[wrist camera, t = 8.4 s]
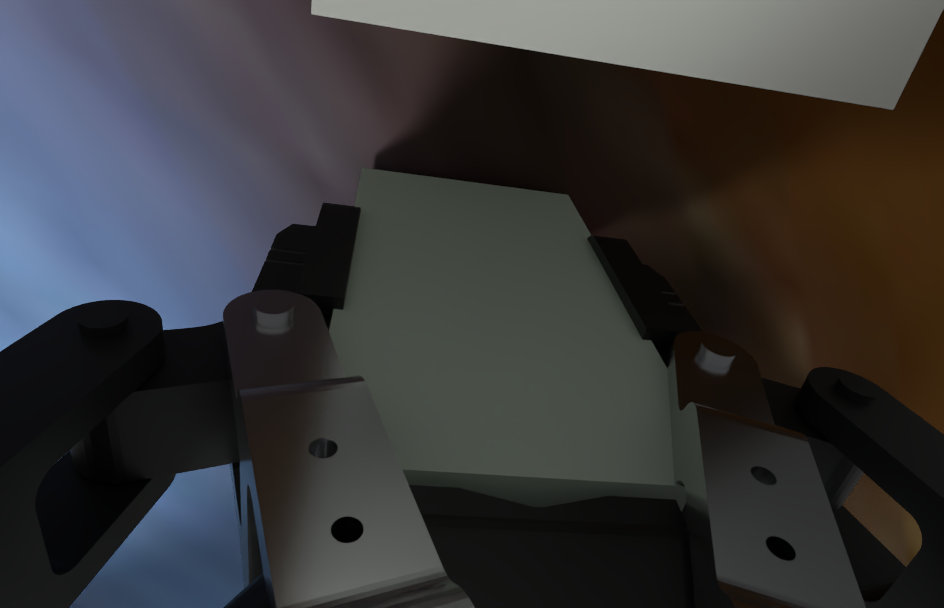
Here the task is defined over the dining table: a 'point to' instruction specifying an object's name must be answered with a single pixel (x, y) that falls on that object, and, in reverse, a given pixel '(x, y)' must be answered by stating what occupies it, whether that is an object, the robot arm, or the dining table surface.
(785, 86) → the domino
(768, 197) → the dining table surface
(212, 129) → the dining table surface
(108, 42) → the dining table surface
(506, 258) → the domino
